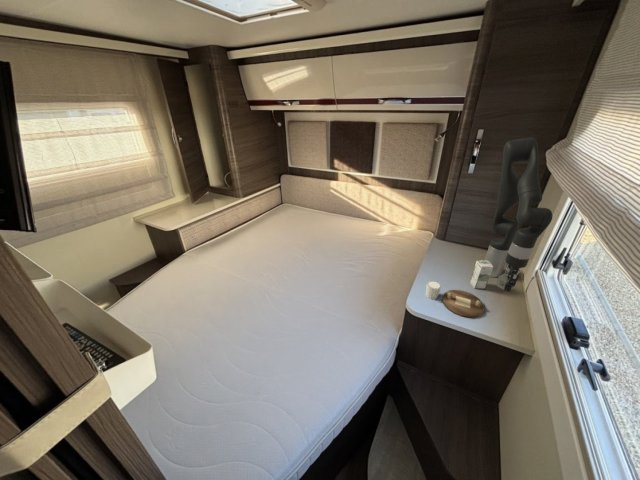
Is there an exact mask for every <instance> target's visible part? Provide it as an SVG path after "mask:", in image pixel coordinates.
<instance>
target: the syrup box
mask: <svg viewBox="0 0 640 480" xmlns="http://www.w3.org/2000/svg"><path fill="white" fill-rule="evenodd" d="M492 270H493V266H492V264H491V263H490V262H489V261H485V260H476V262H475V265H474V268H473V271H472V273H471V277H470V280H469V283H470V285H471V286H472V287H473V289H477V290H478V289H479V290H480V289H481V290H482V289H483V290H485V289H486V288H487V285H488V283H489V280H490V275H491V272H492Z"/></svg>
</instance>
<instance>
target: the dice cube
mask: <svg viewBox="0 0 640 480" xmlns="http://www.w3.org/2000/svg"><path fill="white" fill-rule="evenodd" d="M506 276H507V274H506V273H505V272H504V273H502V274H500V276H499V277H497V279H496V282H495V286H496V287H498V288H500V290H503V291H505V290H504V287H505V285H506V282H507V277H506ZM509 277H510V275H509ZM513 289H515V286H512V288H511V290H513ZM505 292H508V291H505Z"/></svg>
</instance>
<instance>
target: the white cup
mask: <svg viewBox="0 0 640 480" xmlns="http://www.w3.org/2000/svg"><path fill="white" fill-rule="evenodd" d="M441 289H442V284H441V283H440V282H438V281H436V280H428V281H427V282H426V288H425V296H426V298H428V299H430V300H436V299H438V297H439V294H440V292H441Z"/></svg>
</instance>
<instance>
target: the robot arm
mask: <svg viewBox="0 0 640 480" xmlns="http://www.w3.org/2000/svg"><path fill="white" fill-rule="evenodd" d="M520 162H527V166H526V168H525V171H524V172H523V174H522V175H521V177H520V178H519V177H518V176H517V174H516V173H515V171H514V169H513V163H520ZM496 200H497V202H496V209H495V213H494V217H493V221H492V224H491V232H492V233H494V234H497V235H499V236H502V237H501V238H499V237H496V238H495V237H494V238H493V239H491V240H490V243H489V245H488V250H487V252H486V255H485V258H484V261H489V262H490V263H491V264H492V266H493V270H492V272H491V275H490V277H491V278H498V277H499V276H500V275H502V274H503V272H504V271H505V272H504V274H505V273H506V274H507V276H506V277H507V282H506V285H505V287H504V290H503V291H505V292H506V291H507V292H511V290H512V289H511V288H512V286H514V287H515V286H516V284H517V282H518V280H519V278H520V275H519V274H520V273H521V272H520V271H521V270H520V269H523V268H526V267H527V266H528V265H529V264H528V263H529V261H530V258H531V257H532V254H533V251H534V247H535V245H536V242H537V240H538V238H539V237H540V236H541V235H542V233H543V232H544V231H545V230H546V229H547V228H548V226H550V224H551V222H552V220H553V212H552V210H551V209H550V208H547V207H534V206H535V205H538V204H540V203H541V202H542V201H543V193H542V189H541V184H540V178H539V147H538V142H537V140H536V138H535V137H525V138H517V139H512V140H508V141H507V142H506V143H505V144H504V147H503V153H502V165H501V175H500V183H499V186H498V194H497V199H496ZM516 205H518V208H517V210H516V211H517V212H516V218H515V219H516V220H514V219H513V218H509V217H505V214H506V213H507V212H508V211H509V210H511V209H512V208H513V207H515V206H516ZM532 206H533V207H532ZM520 226H525V228H520ZM506 264H507V265H506ZM505 265H506V267H505ZM504 267H505V270H504ZM503 270H504V271H503ZM509 275H510V277H509Z"/></svg>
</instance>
